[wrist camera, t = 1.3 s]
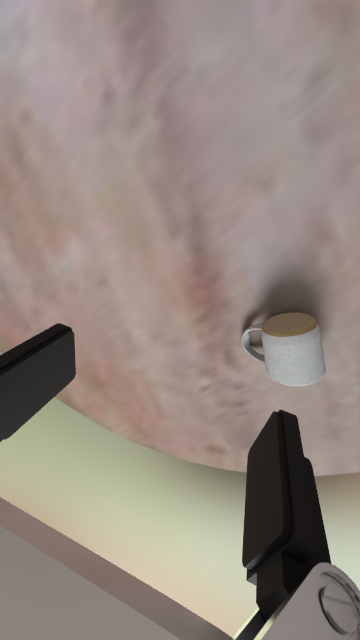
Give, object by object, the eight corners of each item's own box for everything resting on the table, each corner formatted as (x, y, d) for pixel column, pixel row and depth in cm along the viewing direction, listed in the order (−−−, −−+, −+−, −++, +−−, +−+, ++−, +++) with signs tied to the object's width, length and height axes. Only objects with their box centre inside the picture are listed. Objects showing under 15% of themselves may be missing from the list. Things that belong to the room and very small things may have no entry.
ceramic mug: (313, 305, 32) (326, 329, 25) (319, 354, 34) (332, 388, 28) (237, 317, 36) (231, 341, 29) (248, 359, 39) (245, 390, 32)
